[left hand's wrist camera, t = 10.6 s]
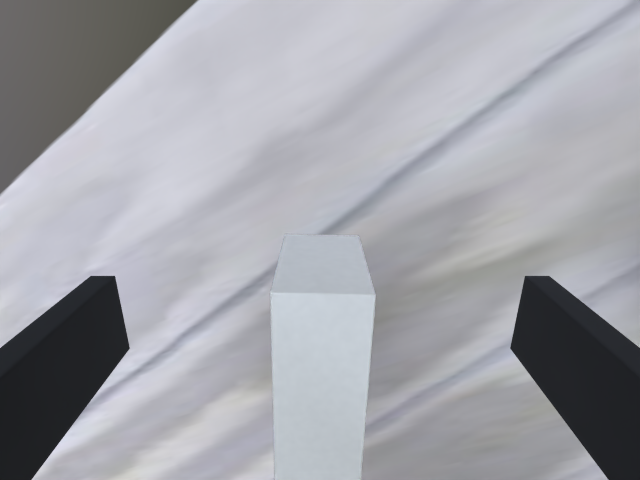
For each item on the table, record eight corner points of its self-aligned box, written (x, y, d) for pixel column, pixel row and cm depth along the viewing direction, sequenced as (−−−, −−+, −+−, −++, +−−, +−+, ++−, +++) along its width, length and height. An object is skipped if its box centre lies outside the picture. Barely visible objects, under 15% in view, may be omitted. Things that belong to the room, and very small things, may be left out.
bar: (284, 233, 27) (269, 292, 19) (359, 234, 27) (376, 294, 19) (287, 513, 37) (278, 632, 29) (342, 514, 37) (348, 633, 29)
